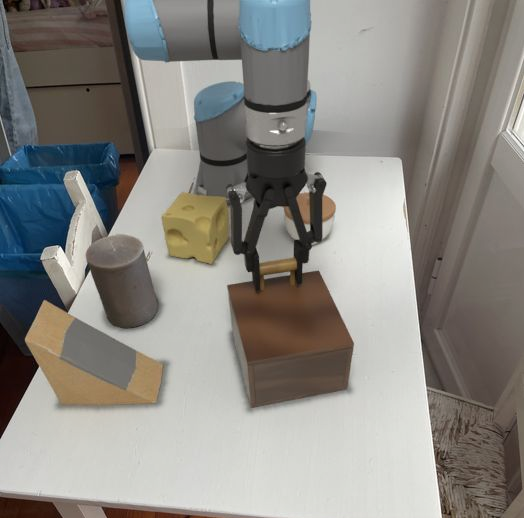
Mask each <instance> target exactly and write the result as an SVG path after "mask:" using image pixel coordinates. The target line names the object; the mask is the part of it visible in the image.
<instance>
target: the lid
mask: <svg viewBox="0 0 524 518" xmlns="http://www.w3.org/2000/svg"><path fill="white" fill-rule="evenodd" d="M259 265H260V290H259V291H256V290H255V287H254V284H253V281H252V280H249V281H244V282H236V283H231V284H227V285H226V288H227V293H229V295H228V298H229V297H230V300H231V304H232V308H233V312H234V316H235V320H236V323H237V327H238V331H239V335H240V339H241V343H242V347H243V350H244V354H245V358H246V362H247V366H252V365H257V364H263V363H268V362H274V361H279V360H285V359H290V358H296V357H301V356H307V355H312V354H318V353H323V352H329V351H334V350H340V349H345V348H351V347H354V346H355V342H354V340H353V338H352V336H351V334H350V332H349V329H348V327H347V325H346V324H345V322H344V319H343V318H342V315H341V313H340V311H339V309H338V306H337V305H336V303H335V301H334V299H333V297H332V294H331V292H330V290H329V287H328V286H327V283H326V282H325V279H324V278H323V276H322V274H321V271H320V270H311V271H306V272H302V284H297V282H296V280H295V270H297V261H296V258H293V257H288V258H282V259H276V260H275V259H274V260H270V261H263V262H259ZM283 273H289V274H286V275H281V276H274V277H268V278H265V276H269V275H276V274H283Z"/></svg>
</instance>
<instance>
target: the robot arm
mask: <svg viewBox="0 0 524 518" xmlns="http://www.w3.org/2000/svg"><path fill="white" fill-rule="evenodd" d="M312 21H313V20H312V13H311V0H124V23H125V30H126V33H127V38H128V41H129V45H130V47H131V50H132V52H133V53H134V55H135V56H136V57H137V58H138V59H139V60H141V61H149V62H150V61H151V62H156V61H157V62H164V63H172V62H174V63H175V62H197V61H199V62H200V61H201V62H202V61H241V67H242V68H241V69H242V82H243V83H242V82H240V81H222V82H218V83H214V84H211V85H208V86H206V87H204V88H203V89H201V90H199V92H197V93H196V95H195V96H194V100H193V108H194V109H193V111H194V116H193V119H194V121H195V128H196V136H197V144H198V152H199V160H200V161H199V165H198V171H197V175H196V181H195V182H196V183H195V186H196V193H197V195H204V196H219V197H225V198H226V202H227V205H229V206H230V244H231V248H232V252H233V254H234V255H235V256H239V255H243V259H244V267H245V269H246V271H247V273H251V278H252V279H251V281H253V284H254V287H255V290H256V291H259V290H260V265H259V263H260V255H259V252H258V249H257V245H258V242H259V239H260V235H261V232H262V229H263V226H264V222H265V219H266V218H267V216H268V214H269V212H270V211H269V210H271V209H275V208H277V207H280V208H281V207H282V208H284V207H286V206H288V208H289V211H290V214H291V216H292V219H293V222H294V225H295V228H296V231H297V234H298V236H299V239H298V240H295V239H293V253H292V254H293V257H292V258H296V261H297V270H295V280H296V282H297V284H302V273H303V269H304V268H303V267H304V266H303V265H304V264H308V263H309V261H310V251H311V250H312V249H313V245H311V244H312V243H314V242H319V243H321V242H322V240H323V239H322V196H323V195H324V193H325V190H326V187H327V181H326V179H325V178H324V176H323V174H322V173H321V172H320V171H316V172H314V173H313V174H311V173H307V172H306V168H305V167H306V147H307V146H308V145H309V144H310V141H311V139H312V135H313V130H314V126H315V120H316V119H315V118H316V109H317V100H318V99H317V92H316V91H315V90H313V89H311V82H310V80H309V64H310V63H309V62H310V61H309V60H310V38H311V31H312ZM305 186H306V187H307V189H308V193H309V205H310V231H308V232H307V231H306V228H305V225H304V222H303V219H302V216H301V213H300V209H299V206H298V203H297V200H296V197H297V196H298V195H299V194H300V193H302V191H303V189H304V188H305ZM250 198H253V199H254V200H253V207H252V212H251V215H250V217H249V220H248V221H249V222H248V225H247V229H246V232H245V235H244V239H243V207H242V204H243V203H244V201H246V200H248V199H250Z"/></svg>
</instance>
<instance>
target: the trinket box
mask: <svg viewBox="0 0 524 518" xmlns="http://www.w3.org/2000/svg"><path fill="white" fill-rule="evenodd" d="M296 200H297V203H298V206H299V209H300V213H301V216H302V219H303V222H304V225H305V228H306V231H307V232H308V231H310V205H309V192H300V193H299V195H298V196H297V197H296ZM336 209H337V207H336V202H335V201H334V200H333V199H332V198H331V197H329V196H327V195H325V194H323V196H322V240H324V239H325V238H326V237H327V236H328V235H329V234H330V232H331V231H332V228H333V225H334V221H335V215H336V214H335V213H336ZM283 215H284V216H283V217H284V224H285V225H284V226H285V228H286V231H287V233H288V234H289V235H290V237H292V239H293V240H298V239H299V236H298V234H297V231H296V228H295V225H294V222H293V219H292V216H291V214H290V211H289V208H288V206H286V207H283ZM319 243H320V242H314V243H312V244H311V245H312V246H315V245H317V244H319Z"/></svg>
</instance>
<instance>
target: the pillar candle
mask: <svg viewBox="0 0 524 518" xmlns="http://www.w3.org/2000/svg"><path fill="white" fill-rule="evenodd" d="M85 259H86V262H87V265H88V268H89V271H90V274H91V277H92V280H93V282H94V286H95V288H96V291H97V293H98V295H99V299H100V302H101V305H102V308H103V310H104V312H105V315H106V320H107V321H108V322H109V323H110V325H112V326H114V327H117V328H120V329H121V328H123V329H131V328H132V329H133V328H137V327H140V326H144V325H145V324H147V323H149V322H150V321H151V320H152V319H153V318H154V317H155V316H156V315H157V313H158V309H159V305H158V300H157V296H156V292H155V288H154V284H153V280H152V276H151V272H150V268H149V264H148V260H147V257H146V253H145V247H144V244H143V242H142V240H141V239H140V238H137V237H135V236H133V235H128V234H123V233H117V234H112V235H107V236H104V237H102V238H99V239H97V240H95V241H94V242H92V243H91V244H90V245H89V246H88V248H87V249H86V251H85Z"/></svg>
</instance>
